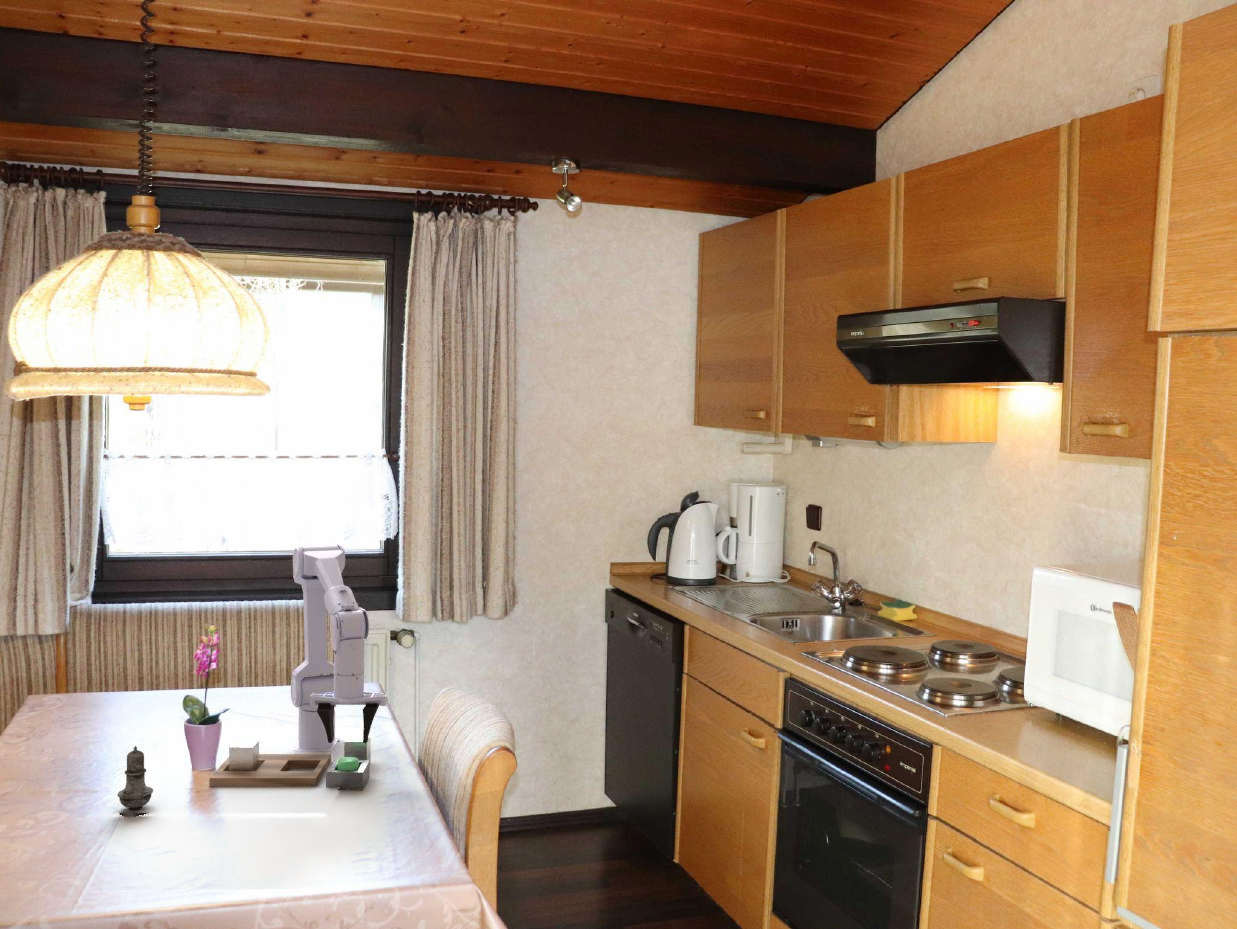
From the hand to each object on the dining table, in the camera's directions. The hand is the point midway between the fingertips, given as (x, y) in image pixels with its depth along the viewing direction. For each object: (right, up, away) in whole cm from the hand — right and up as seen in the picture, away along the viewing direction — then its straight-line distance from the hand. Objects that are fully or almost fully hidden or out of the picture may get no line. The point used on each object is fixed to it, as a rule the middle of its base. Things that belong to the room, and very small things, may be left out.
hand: (348, 741), depth 205 cm
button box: (0, -8, 0) cm, 8 cm away
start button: (0, -7, 0) cm, 7 cm away
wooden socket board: (-16, -8, +3) cm, 18 cm away
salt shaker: (-34, -9, -16) cm, 39 cm away
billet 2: (-1, -8, +10) cm, 13 cm away
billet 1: (-21, -7, +3) cm, 23 cm away
